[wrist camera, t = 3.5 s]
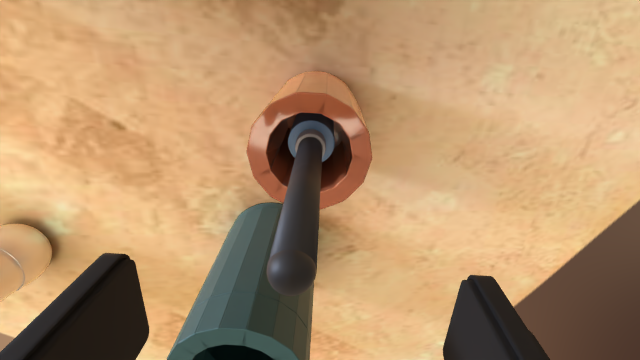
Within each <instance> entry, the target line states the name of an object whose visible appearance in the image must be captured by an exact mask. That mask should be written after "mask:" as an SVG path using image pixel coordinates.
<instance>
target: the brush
mask: <svg viewBox="0 0 640 360" xmlns="http://www.w3.org/2000/svg"><path fill="white" fill-rule="evenodd" d="M334 144H335V141H334V122H333V120H331V119H329V118H328V117H326V116H324V115H322V114H316V113H299V114H297V115H296V118H295V120H294V123H293V126H292V128H291V131H290V134H289V137H288V147H289V150H290V152H291V154H292V155H293V157H294V158H295V161H294V164H293V168H292V172H291V176H290V180H289V184H288V187H287V191H286V195H285V199H284V203H283V207H282V210H281V214H280V218H279V222H278V226H277V230H276V234H275V237H274V241H273V245H272V249H271V253H270V257H269V260H268V264H267V277H268V281H269V283H270V285H271V286H272V288H273V289H274V290H276V291H277V292H278V293H280V294H282V295H285V296H297V295H299V294H302V293H304V292H305V291H307V290H308V289H309V288H310V287H311V285H312V284H313V282H314V280H315V276H316V270H317V250H318V230H319V210H320V190H321V170H322V162H324V161H325V160H327V159H328V158H329V157H330V155H331V154H332V152H333V149H334Z"/></svg>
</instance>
